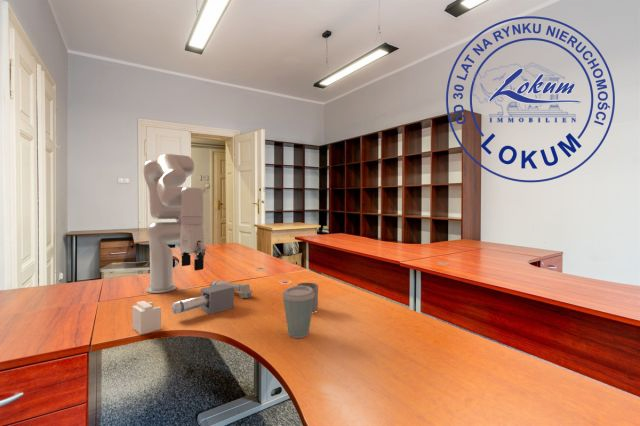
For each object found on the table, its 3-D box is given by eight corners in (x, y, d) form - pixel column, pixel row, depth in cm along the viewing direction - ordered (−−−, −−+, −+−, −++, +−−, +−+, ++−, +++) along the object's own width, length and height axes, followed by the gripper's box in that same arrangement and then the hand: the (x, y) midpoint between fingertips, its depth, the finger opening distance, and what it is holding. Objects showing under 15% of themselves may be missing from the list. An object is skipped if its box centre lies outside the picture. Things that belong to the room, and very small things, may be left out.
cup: (320, 308, 128) (321, 284, 127) (311, 315, 120) (312, 289, 120) (302, 305, 131) (303, 281, 131) (292, 311, 124) (293, 286, 123)
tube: (171, 312, 113) (171, 301, 113) (226, 298, 130) (226, 288, 130) (176, 315, 111) (176, 304, 110) (231, 300, 127) (231, 290, 127)
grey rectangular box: (201, 309, 123) (201, 288, 123) (224, 303, 131) (224, 283, 131) (210, 314, 119) (210, 292, 118) (233, 307, 126) (233, 287, 126)
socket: (132, 327, 106) (132, 303, 105) (152, 322, 110) (152, 298, 110) (140, 334, 101) (140, 308, 100) (161, 328, 105) (161, 304, 105)
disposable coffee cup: (301, 344, 96) (302, 296, 95) (274, 335, 102) (275, 290, 101) (319, 332, 105) (320, 288, 104) (294, 324, 111) (294, 282, 110)
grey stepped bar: (217, 279, 154) (253, 281, 140) (218, 293, 154) (254, 296, 140) (208, 281, 150) (244, 283, 136) (209, 295, 150) (246, 299, 136)
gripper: (171, 220, 118) (171, 265, 119) (193, 223, 107) (193, 273, 107) (190, 219, 124) (190, 262, 125) (214, 222, 112) (214, 270, 113)
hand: (192, 267), depth 116 cm, fingers open, 9 cm apart
